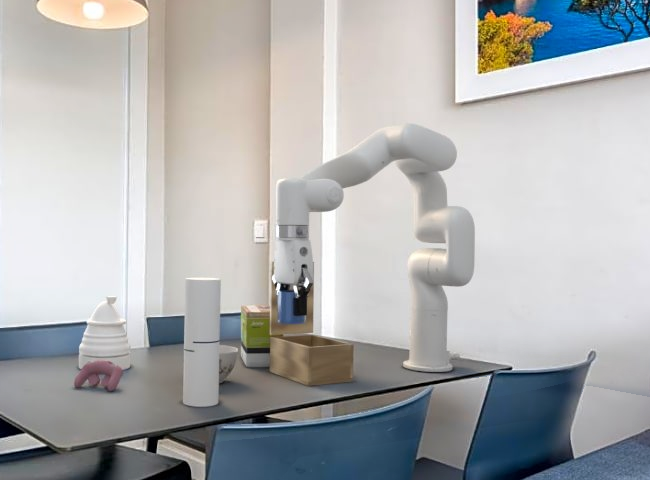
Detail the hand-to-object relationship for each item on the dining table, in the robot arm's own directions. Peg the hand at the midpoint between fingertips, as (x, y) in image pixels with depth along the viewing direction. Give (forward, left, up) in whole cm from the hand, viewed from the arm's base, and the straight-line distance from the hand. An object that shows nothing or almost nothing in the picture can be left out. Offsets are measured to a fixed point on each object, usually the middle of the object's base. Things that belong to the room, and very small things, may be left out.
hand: (291, 313), depth 151 cm
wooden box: (-11, -8, -17) cm, 22 cm away
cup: (0, 0, -2) cm, 2 cm away
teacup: (+14, -13, -17) cm, 26 cm away
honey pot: (+31, -39, -17) cm, 53 cm away
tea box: (-9, -29, -17) cm, 35 cm away
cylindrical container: (+24, +5, -17) cm, 30 cm away
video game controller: (+39, -16, -17) cm, 46 cm away
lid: (-11, -17, +2) cm, 20 cm away
